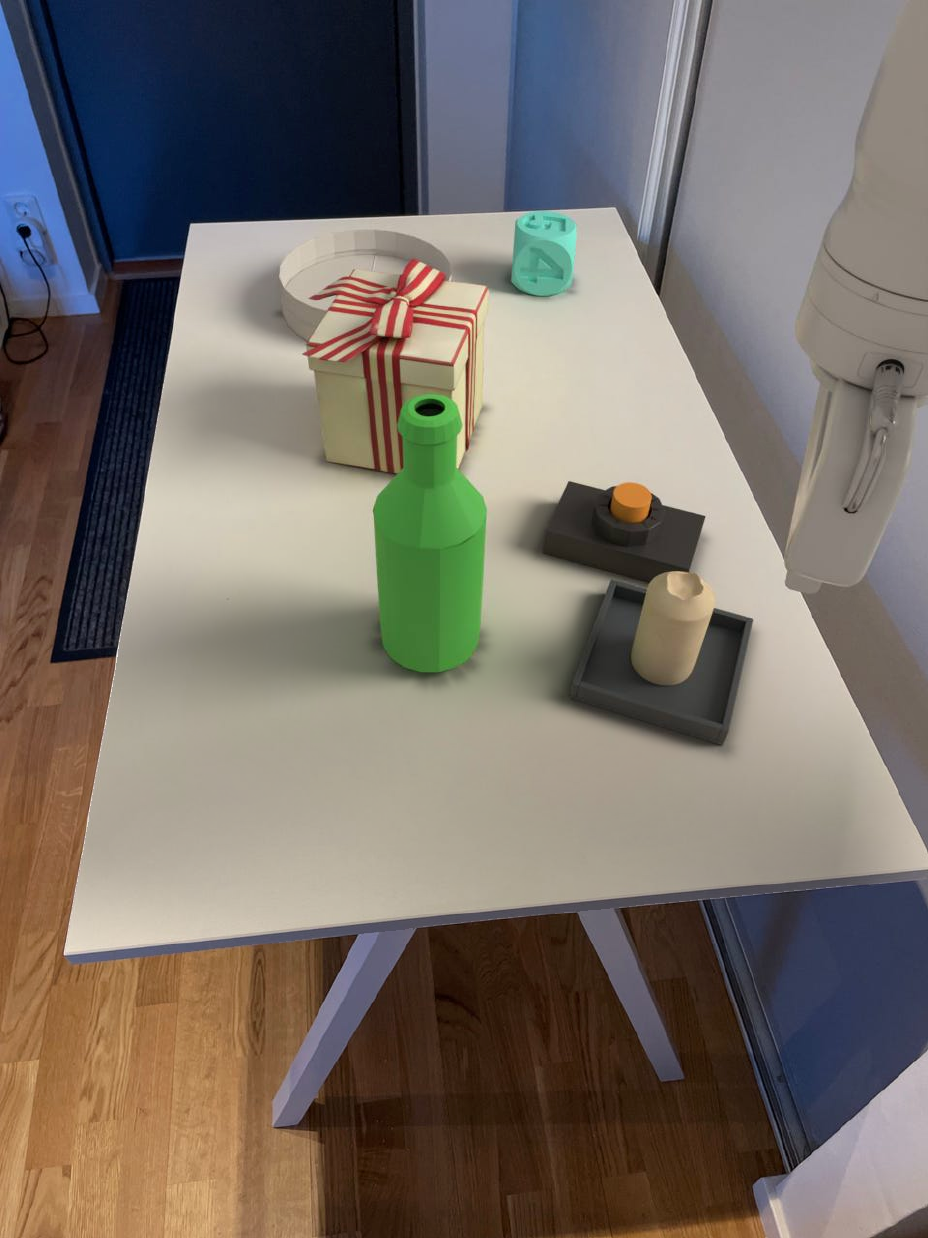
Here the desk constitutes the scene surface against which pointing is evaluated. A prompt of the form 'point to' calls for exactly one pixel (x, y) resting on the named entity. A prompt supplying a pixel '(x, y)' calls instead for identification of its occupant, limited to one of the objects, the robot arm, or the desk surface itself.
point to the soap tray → (678, 707)
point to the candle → (672, 627)
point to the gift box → (394, 359)
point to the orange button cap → (630, 502)
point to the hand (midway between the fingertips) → (810, 528)
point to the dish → (344, 268)
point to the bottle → (430, 544)
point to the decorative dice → (544, 253)
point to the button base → (621, 535)
